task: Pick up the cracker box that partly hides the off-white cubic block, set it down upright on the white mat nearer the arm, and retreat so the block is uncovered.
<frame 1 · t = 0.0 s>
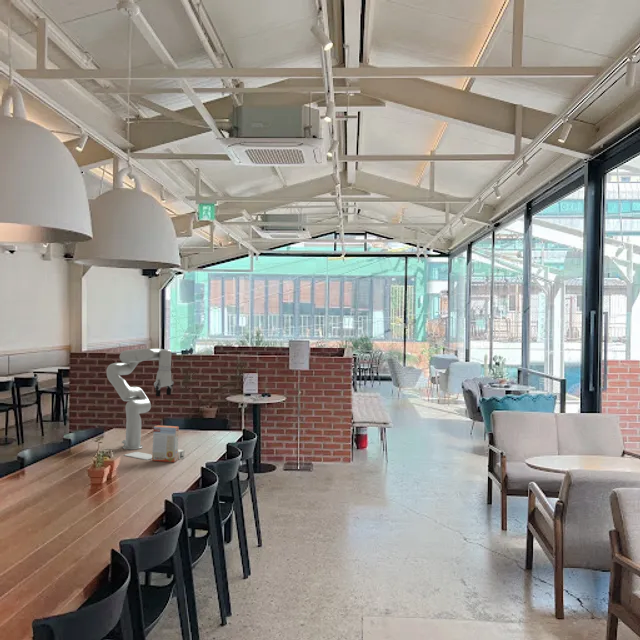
hand: (163, 395, 379), 37 cm above the table, tool pointing down, fingers open, 9 cm apart
white mat: (141, 456, 368), on the table
cracker box: (164, 461, 359), on the table
off-white cubic block: (178, 458, 367), on the table
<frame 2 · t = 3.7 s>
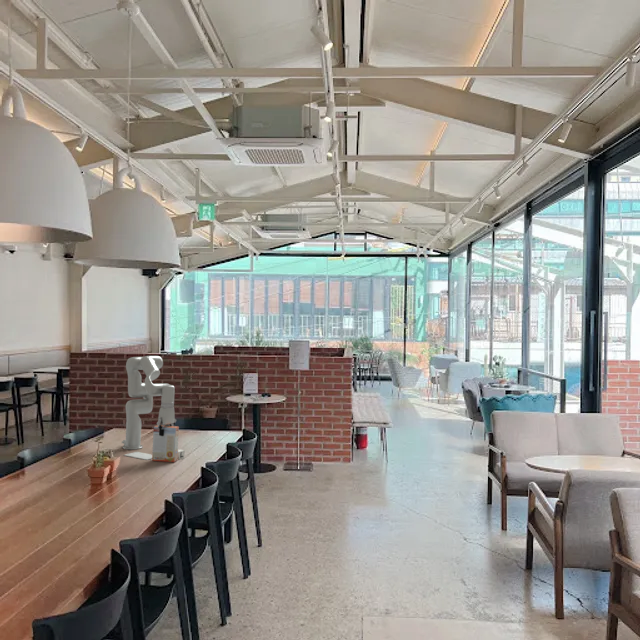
hand: (166, 434, 360), 16 cm above the table, tool pointing down, fingers closed on cracker box, 7 cm apart
cracker box: (164, 461, 359), on the table, touching gripper
everything else where it was.
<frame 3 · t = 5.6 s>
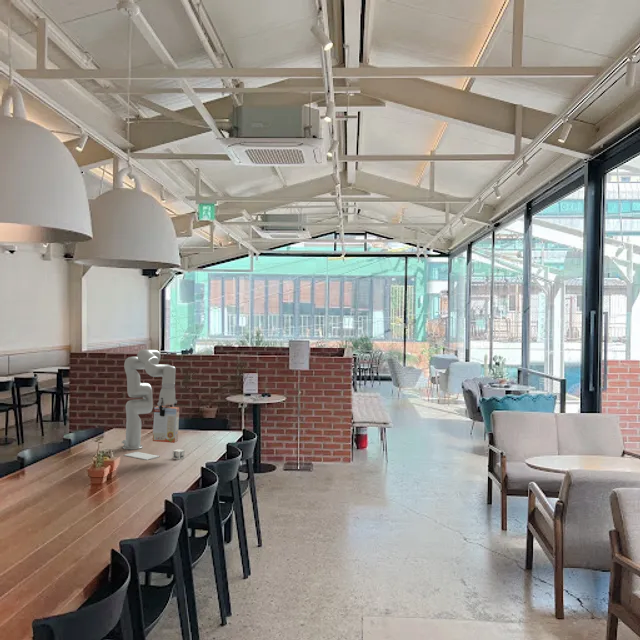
hand: (166, 415, 360), 28 cm above the table, tool pointing down, fingers closed on cracker box, 7 cm apart
cracker box: (165, 441, 360), point 11 cm above the table, touching gripper
everything else where it was.
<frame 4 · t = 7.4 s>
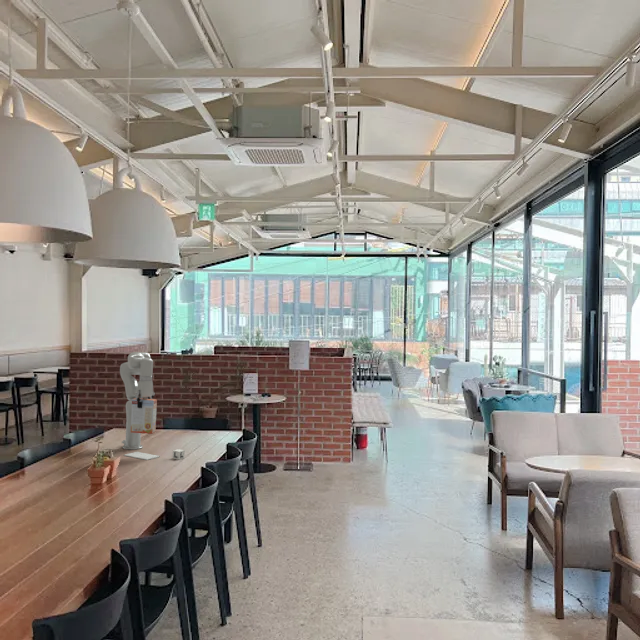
hand: (144, 407, 368), 31 cm above the table, tool pointing down, fingers closed on cracker box, 7 cm apart
cracker box: (143, 432, 368), point 15 cm above the table, touching gripper
everything else where it was.
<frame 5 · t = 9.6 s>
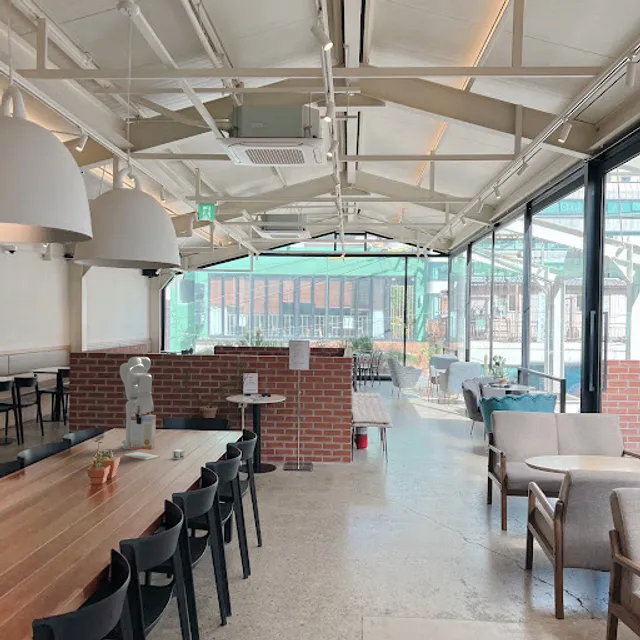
hand: (143, 422, 368), 21 cm above the table, tool pointing down, fingers closed on cracker box, 7 cm apart
cracker box: (142, 448, 368), point 5 cm above the table, touching gripper
everything else where it was.
when the fingers open (18 cm above the table, at t = 11.4 s): cracker box drops 1 cm, resting on white mat.
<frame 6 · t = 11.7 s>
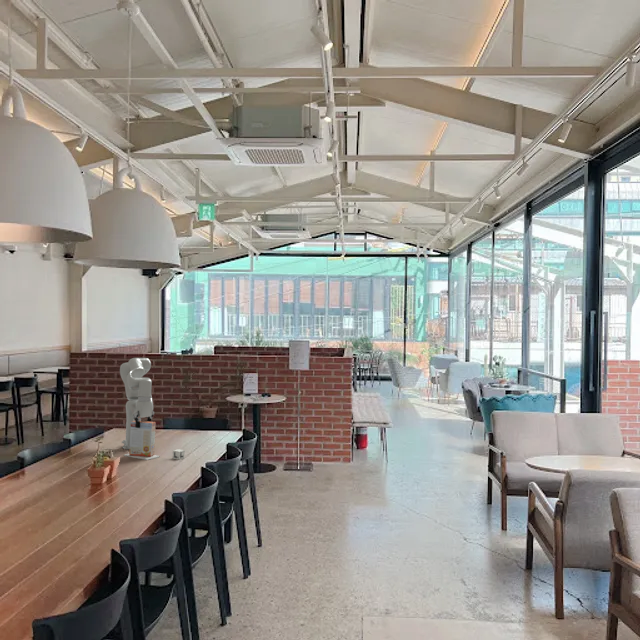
hand: (143, 426, 368), 18 cm above the table, tool pointing down, fingers open, 9 cm apart
cracker box: (141, 455, 368), resting on white mat
everything else where it was.
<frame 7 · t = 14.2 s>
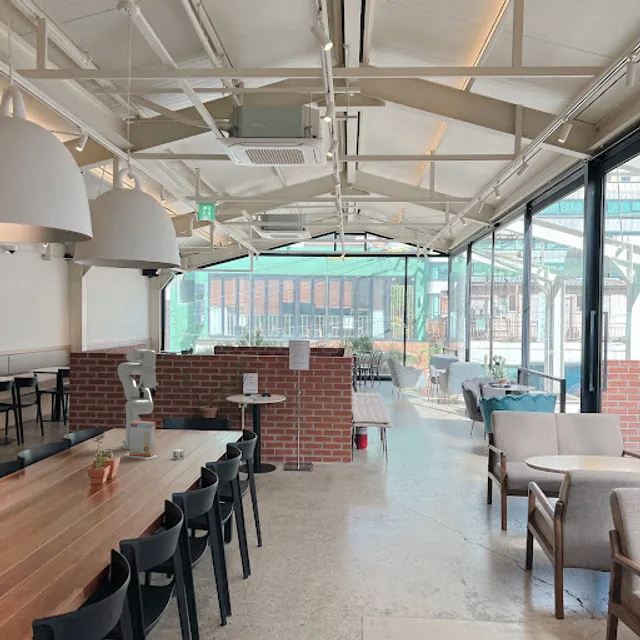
hand: (147, 397, 371), 36 cm above the table, tool pointing down, fingers open, 9 cm apart
nothing on the table moved.
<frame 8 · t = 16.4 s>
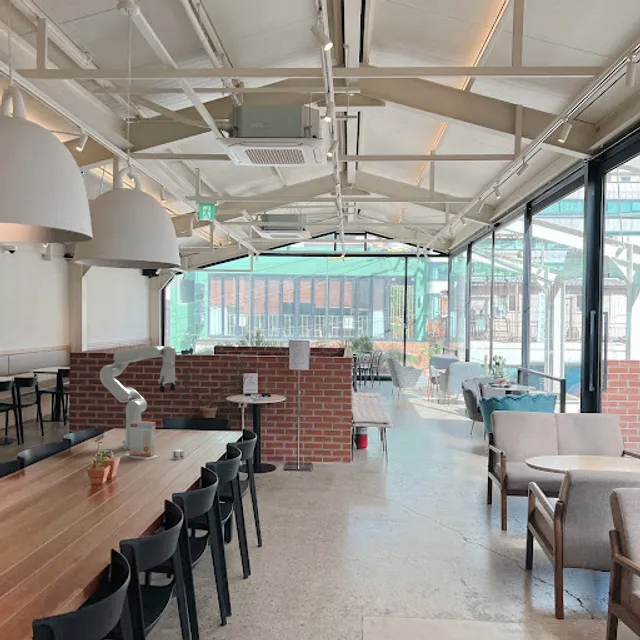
hand: (167, 391, 388), 38 cm above the table, tool pointing down, fingers open, 9 cm apart
nothing on the table moved.
at the end: cracker box inside the target area on the white mat (0.2 cm from its centre), point 0.4 cm above the white mat's base; cracker box tilted 0°; off-white cubic block moved 0.1 cm from its start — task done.
